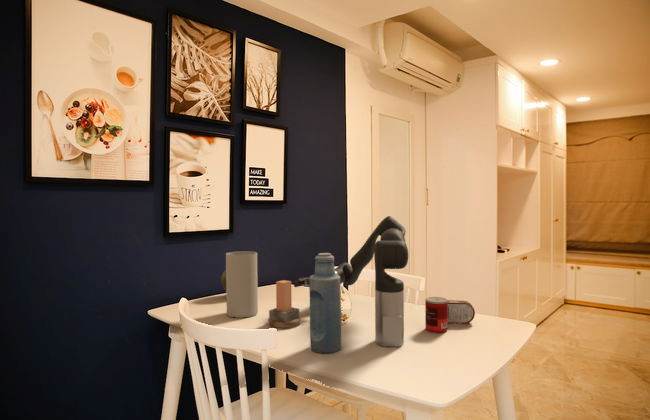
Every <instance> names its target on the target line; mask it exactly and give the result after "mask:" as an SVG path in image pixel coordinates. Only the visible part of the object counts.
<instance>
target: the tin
mask: <svg viewBox="0 0 650 420" xmlns="http://www.w3.org/2000/svg"><path fill="white" fill-rule="evenodd" d="M447 301H448V324H454V323H456V324H457V323H458V324H459V323H461V324H459V325H462V324H463V325H464V324H465V325H466V324H470V323H471V322H472V321H473V320H474V318H475V315H476V311H475V309H474V306H473V305H472V304H471V303H470V302H469V301H467V300H453V299H447ZM458 324H457V325H458Z"/></svg>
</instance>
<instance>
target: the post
mask: <svg viewBox="0 0 650 420" xmlns="http://www.w3.org/2000/svg"><path fill="white" fill-rule="evenodd" d="M275 289H276V291H275V293H276V294H275V295H276V300H275V301H276V304H275V306H276V307H275V308H276V311H280V312H288V311H291V310H292V307H293V306H292V281H291V280H286V279H283V280H278V281H276V282H275Z"/></svg>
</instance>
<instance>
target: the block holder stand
mask: <svg viewBox="0 0 650 420" xmlns="http://www.w3.org/2000/svg"><path fill="white" fill-rule="evenodd" d="M267 323H268V324H269V325H270V326H271V327H270V326H269V325H268V326H269V327H270V328H272V327H274V328H273V329H276V328H277V329H278V328H283V329H282V330H288V329H287V328H289V329H294V328H297V327H299V326H300V325H301V317H300V308H297V307H293V306H292V310H291V311H288V312H280V311H276V307H274V308H272V309H269V310H268V321H267ZM284 328H285V329H284ZM277 329H276V330H277Z"/></svg>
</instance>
